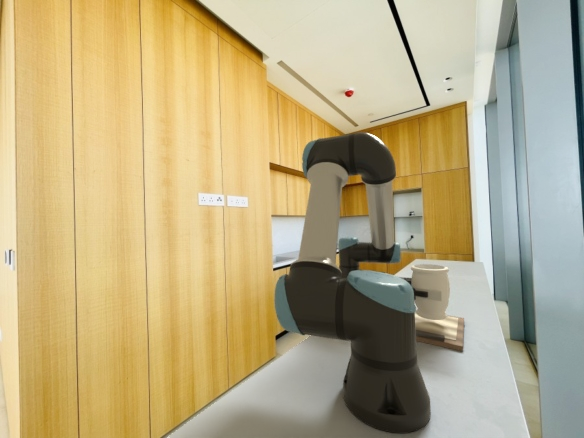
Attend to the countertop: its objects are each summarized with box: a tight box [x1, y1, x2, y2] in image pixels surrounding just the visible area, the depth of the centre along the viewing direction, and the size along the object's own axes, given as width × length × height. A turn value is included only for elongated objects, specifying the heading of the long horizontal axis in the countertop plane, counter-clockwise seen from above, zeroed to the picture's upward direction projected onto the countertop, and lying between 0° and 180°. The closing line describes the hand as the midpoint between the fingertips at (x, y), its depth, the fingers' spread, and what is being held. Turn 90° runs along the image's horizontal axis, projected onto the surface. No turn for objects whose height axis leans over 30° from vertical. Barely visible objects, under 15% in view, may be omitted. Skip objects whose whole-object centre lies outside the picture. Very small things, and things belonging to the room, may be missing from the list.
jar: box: [410, 263, 451, 320], centre depth 76 cm, size 11×10×15 cm
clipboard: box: [415, 309, 465, 352], centre depth 76 cm, size 22×16×2 cm
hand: (445, 291), depth 73 cm, fingers closed on jar, 11 cm apart
